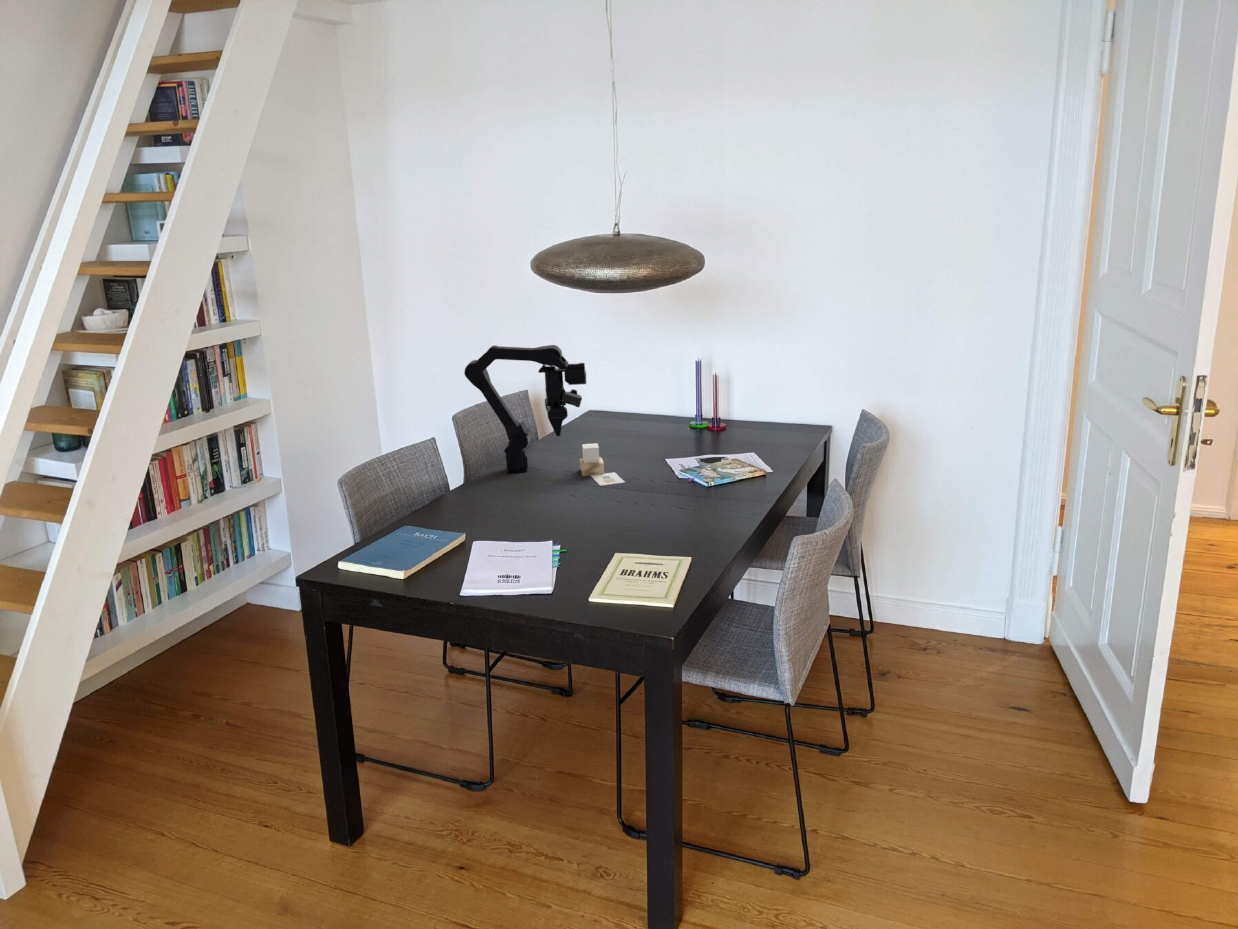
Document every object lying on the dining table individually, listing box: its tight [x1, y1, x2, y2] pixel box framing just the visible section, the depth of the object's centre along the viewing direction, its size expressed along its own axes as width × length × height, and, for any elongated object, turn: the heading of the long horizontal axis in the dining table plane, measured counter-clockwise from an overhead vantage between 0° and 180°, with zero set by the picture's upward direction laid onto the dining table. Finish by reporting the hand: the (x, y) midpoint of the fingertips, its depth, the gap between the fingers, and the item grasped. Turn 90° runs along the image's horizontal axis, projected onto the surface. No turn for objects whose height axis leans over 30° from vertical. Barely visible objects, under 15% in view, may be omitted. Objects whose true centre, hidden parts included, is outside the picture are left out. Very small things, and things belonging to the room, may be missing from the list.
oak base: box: [579, 456, 605, 477], centre depth 304 cm, size 7×7×4 cm
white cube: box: [581, 442, 600, 464], centre depth 303 cm, size 5×5×5 cm
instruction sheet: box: [590, 472, 626, 487], centre depth 296 cm, size 8×11×1 cm
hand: (557, 432), depth 306 cm, fingers open, 9 cm apart
